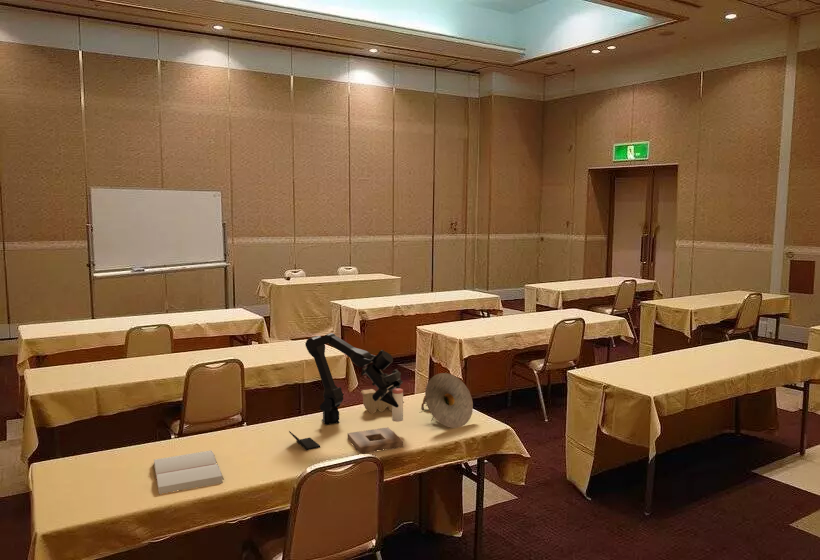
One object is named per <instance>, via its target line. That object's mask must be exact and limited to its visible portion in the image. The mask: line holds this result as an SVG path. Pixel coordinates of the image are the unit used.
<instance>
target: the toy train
mask: <svg viewBox="0 0 820 560" xmlns="http://www.w3.org/2000/svg"><path fill="white" fill-rule="evenodd" d="M376 391H377V390H375V389H373V388H370V389H363V390H361V391H360V393H361V394H362V403H363V404H362V405H363V406H364V408H365V410H366V411H368V412H369V413H370V414H374V413H376V411H377V410H378V411H379V412H380V413H381V412H385V410H386V409H388V410H389V411H392V405H390V404H388V403H386V402H384V401H380V399H381V397H380V398H379V399H378V400H377V401H374V400H373V398H372V395H373V394H374V393H375V392H376Z"/></svg>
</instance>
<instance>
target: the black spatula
mask: <svg viewBox="0 0 820 560" xmlns="http://www.w3.org/2000/svg"><path fill="white" fill-rule="evenodd" d="M288 433H289V434H290V435H291V436H292V437H293V438H294V439H295V440H296V443H297V444H299V445H300V446H301V447H302V448H303V449H304V450H305V451H311V450H314V449H315V450H316V449H319V448H321V445H320V444H319V443H318V442H317V441H315V440H314V439H312V437H305V438H299V437H297V435H295V434H294V433H293V432H292V431H290V430H288Z"/></svg>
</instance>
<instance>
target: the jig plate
mask: <svg viewBox="0 0 820 560" xmlns="http://www.w3.org/2000/svg"><path fill="white" fill-rule="evenodd" d="M347 440H348V441H349V443H350V444H351V443H352V444H353V445H352V444H351V445H352V446H353V447H354V448H355V450H356V451H357V452H358V453H359V454H360V453H362V454H368V453H375V452H378V451H377V450H381V451H386V450H385V449H387V450H392V448H394V449H398V447H400V448H404V440H403V439H402V438H401V437H400V436H399V435H398V434H396V433H395V432H394V431H393V430H392V428H390V427H388V426H387V427H381V428H374V429H367V430H361V431H360V430H359V431H353V432H347ZM372 440H373V441H372ZM383 449H384V450H383ZM374 451H375V452H374Z"/></svg>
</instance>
